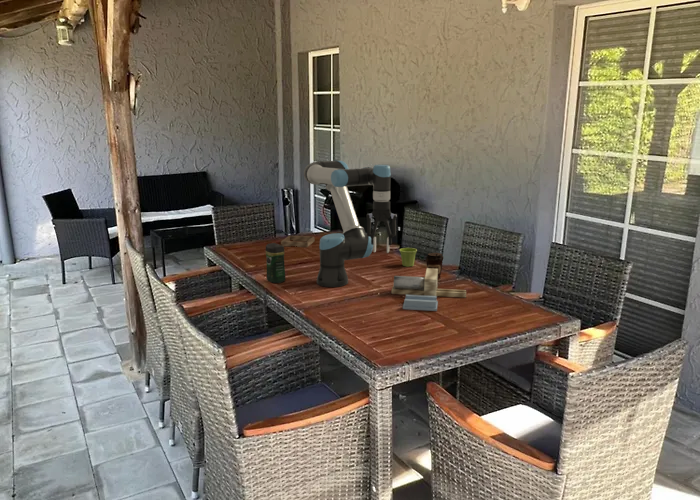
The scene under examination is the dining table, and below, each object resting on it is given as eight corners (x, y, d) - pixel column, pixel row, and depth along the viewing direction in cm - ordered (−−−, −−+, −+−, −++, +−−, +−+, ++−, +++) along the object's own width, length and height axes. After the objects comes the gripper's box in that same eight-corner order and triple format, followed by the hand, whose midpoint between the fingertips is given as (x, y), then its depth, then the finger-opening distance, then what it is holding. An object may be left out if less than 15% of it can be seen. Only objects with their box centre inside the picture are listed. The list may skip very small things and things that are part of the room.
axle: (393, 290, 251) (393, 277, 250) (395, 286, 257) (395, 274, 256) (436, 292, 248) (436, 279, 246) (436, 288, 253) (437, 276, 252)
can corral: (281, 246, 347) (280, 241, 346) (289, 240, 363) (288, 235, 362) (307, 247, 344) (307, 242, 343) (314, 241, 360) (314, 236, 359)
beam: (389, 298, 246) (389, 277, 244) (394, 286, 263) (394, 266, 261) (466, 302, 240) (467, 281, 238) (465, 289, 257) (466, 269, 255)
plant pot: (396, 266, 297) (397, 251, 295) (402, 262, 306) (402, 247, 304) (414, 268, 294) (414, 252, 292) (418, 264, 303) (419, 248, 300)
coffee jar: (288, 281, 272) (286, 244, 268) (273, 284, 268) (271, 246, 264) (278, 277, 280) (277, 240, 276) (264, 279, 276) (262, 243, 271)
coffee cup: (442, 282, 268) (443, 256, 265) (424, 281, 270) (425, 255, 267) (443, 277, 277) (443, 252, 274) (426, 277, 278) (426, 251, 275)
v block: (402, 309, 232) (402, 301, 232) (404, 301, 242) (405, 293, 241) (436, 310, 230) (437, 302, 229) (437, 303, 239) (437, 295, 239)
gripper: (359, 201, 244) (359, 253, 249) (401, 202, 241) (400, 254, 246) (362, 198, 251) (362, 249, 257) (403, 199, 248) (402, 250, 253)
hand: (381, 251), depth 251 cm, fingers open, 5 cm apart
